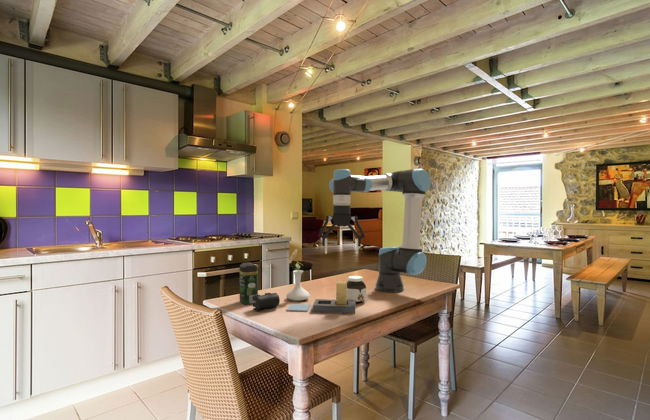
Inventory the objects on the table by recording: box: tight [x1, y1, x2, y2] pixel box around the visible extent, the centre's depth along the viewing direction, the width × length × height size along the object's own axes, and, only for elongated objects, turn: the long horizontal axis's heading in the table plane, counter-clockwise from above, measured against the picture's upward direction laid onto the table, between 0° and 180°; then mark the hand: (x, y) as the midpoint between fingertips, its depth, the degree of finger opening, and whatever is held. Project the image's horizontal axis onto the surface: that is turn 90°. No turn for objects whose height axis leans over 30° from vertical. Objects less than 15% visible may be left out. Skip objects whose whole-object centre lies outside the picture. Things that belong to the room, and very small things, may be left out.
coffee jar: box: [239, 261, 259, 306], centre depth 163 cm, size 10×8×19 cm
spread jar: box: [347, 275, 367, 305], centre depth 167 cm, size 12×11×12 cm
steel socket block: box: [312, 298, 357, 315], centre depth 152 cm, size 18×10×3 cm, turn 84°
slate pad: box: [286, 303, 311, 313], centre depth 154 cm, size 9×9×1 cm
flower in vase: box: [285, 248, 311, 302], centre depth 168 cm, size 13×11×25 cm
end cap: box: [252, 292, 281, 313], centre depth 152 cm, size 10×7×7 cm
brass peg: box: [335, 280, 348, 305], centre depth 152 cm, size 4×4×12 cm
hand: (341, 253), depth 152 cm, fingers open, 13 cm apart
